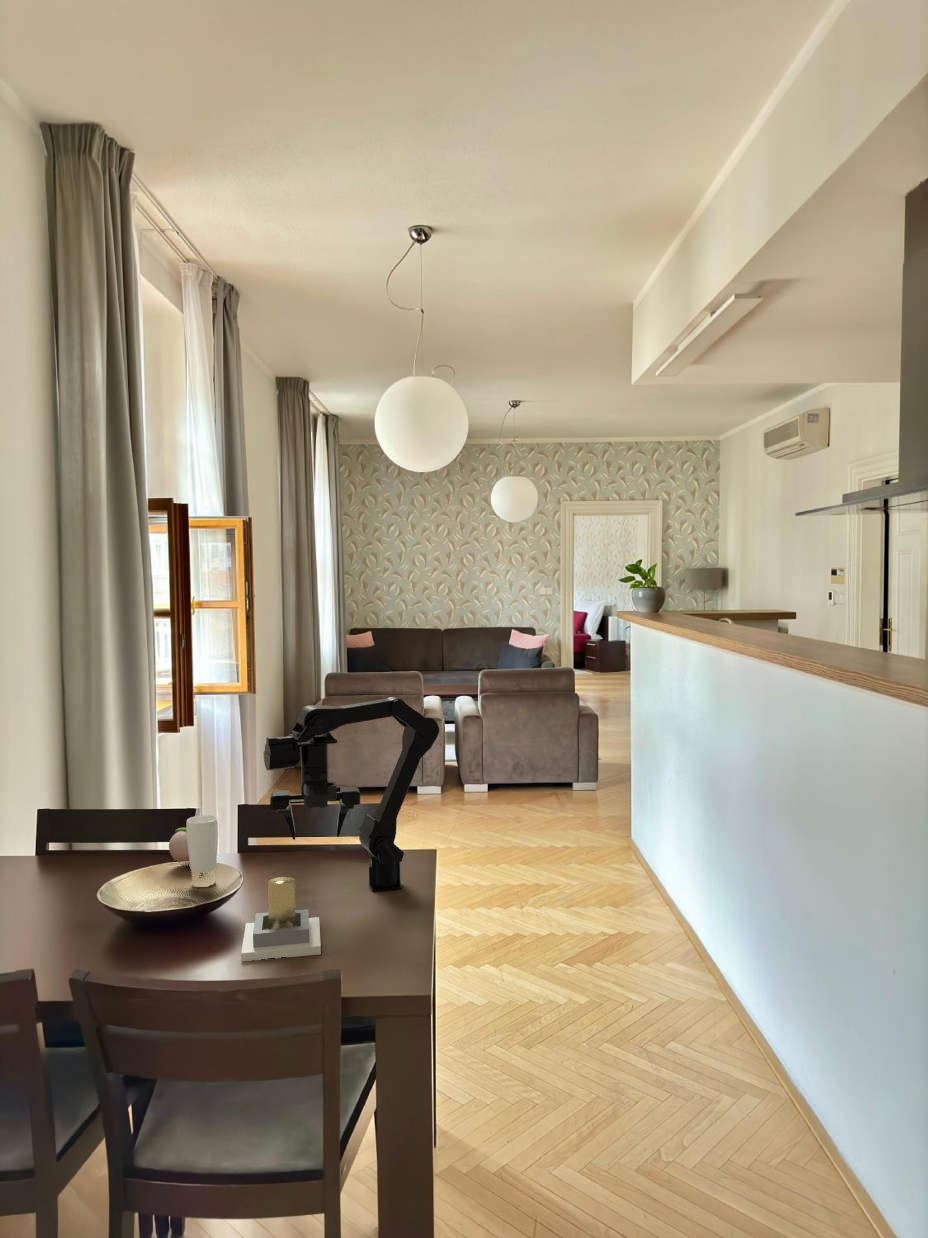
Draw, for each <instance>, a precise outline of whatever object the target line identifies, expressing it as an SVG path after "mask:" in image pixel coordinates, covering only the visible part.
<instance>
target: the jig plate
mask: <svg viewBox="0 0 928 1238" xmlns="http://www.w3.org/2000/svg"><path fill="white" fill-rule="evenodd" d="M309 913H310V911H309V908H308V909H307V908H306V909H296V927H293V928H281V929H270V930H268V912H262V913H261V912H260V913H259V912H258V913H255V916H254V922H248V923H245V926H244V927H245V928H244V933H243V939H242V945H241V953H240V955H241V956H240V957H241V959H240V961H241V962H251V961H252V960H254V961H261V959H265V960H269V959H268V958H275V959H282V958H281V957H286V958H296V957H307V956H315V955H318V956H319V955H321V954H322V953H321V952H322V948H321V947H322V946H321V945H322V944H321V929H320V926H321V925H320V917H319V916H316V917H309ZM252 962H253V961H252Z"/></svg>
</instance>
